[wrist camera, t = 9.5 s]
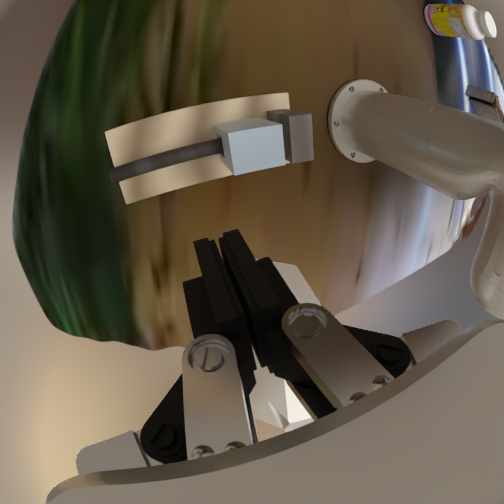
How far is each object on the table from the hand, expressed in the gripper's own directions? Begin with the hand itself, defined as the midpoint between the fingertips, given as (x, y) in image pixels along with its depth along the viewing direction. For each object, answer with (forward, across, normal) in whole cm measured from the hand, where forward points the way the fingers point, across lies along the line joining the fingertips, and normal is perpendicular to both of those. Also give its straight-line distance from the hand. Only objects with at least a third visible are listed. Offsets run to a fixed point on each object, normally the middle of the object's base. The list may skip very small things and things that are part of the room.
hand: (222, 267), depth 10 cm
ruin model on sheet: (+24, -62, -5) cm, 67 cm away
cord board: (+23, -3, 0) cm, 23 cm away
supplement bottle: (+23, -46, -21) cm, 55 cm away
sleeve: (+21, -7, 0) cm, 22 cm away
